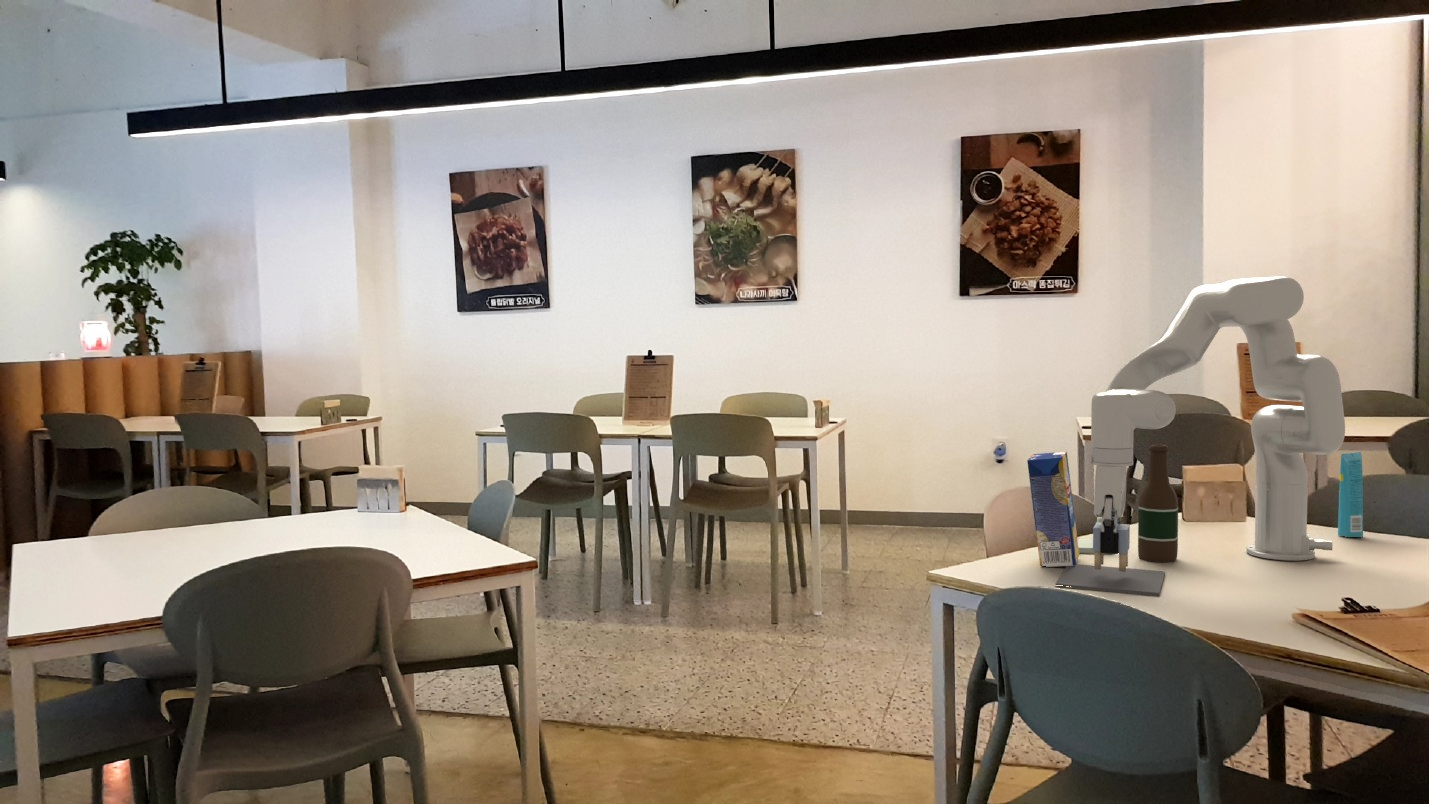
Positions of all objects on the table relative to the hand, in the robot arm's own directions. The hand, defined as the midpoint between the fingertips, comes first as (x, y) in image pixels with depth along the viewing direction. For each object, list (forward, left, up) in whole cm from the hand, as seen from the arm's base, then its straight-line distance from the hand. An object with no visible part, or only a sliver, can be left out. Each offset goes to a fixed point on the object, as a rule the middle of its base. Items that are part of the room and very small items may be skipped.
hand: (1111, 548), depth 194 cm
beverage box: (+11, -12, -6) cm, 17 cm away
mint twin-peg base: (+8, -28, -6) cm, 30 cm away
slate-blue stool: (0, 0, -4) cm, 4 cm away
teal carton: (-45, -63, -6) cm, 78 cm away
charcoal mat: (0, 0, -6) cm, 6 cm away
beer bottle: (-7, -23, -6) cm, 25 cm away
